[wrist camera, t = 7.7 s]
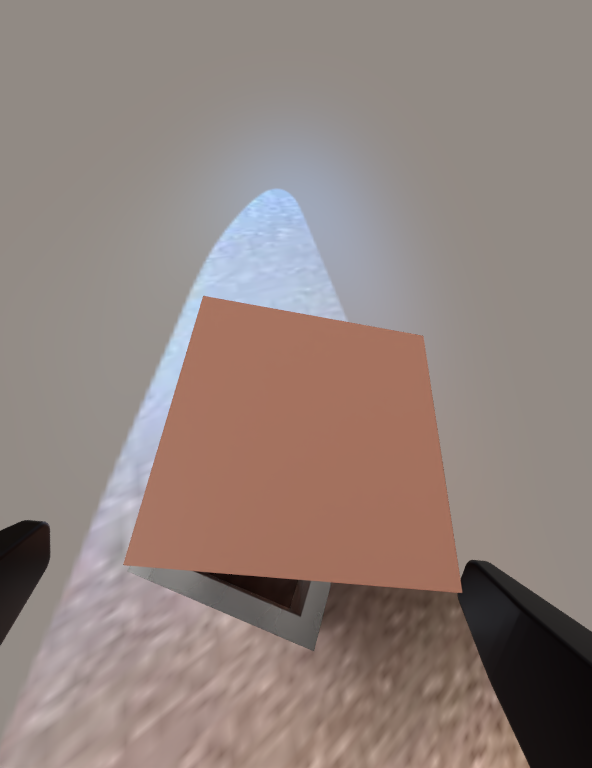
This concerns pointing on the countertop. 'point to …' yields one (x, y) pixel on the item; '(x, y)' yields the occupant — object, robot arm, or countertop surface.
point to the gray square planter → (250, 602)
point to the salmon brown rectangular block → (299, 456)
